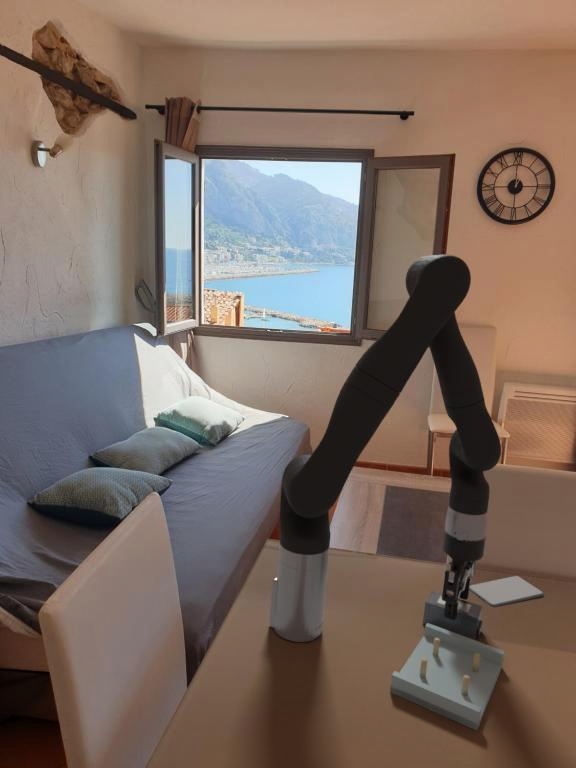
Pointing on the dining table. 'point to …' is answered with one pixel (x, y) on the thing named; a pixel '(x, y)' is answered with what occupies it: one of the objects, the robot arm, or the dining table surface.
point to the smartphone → (505, 591)
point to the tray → (450, 675)
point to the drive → (465, 621)
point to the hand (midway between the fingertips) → (456, 607)
